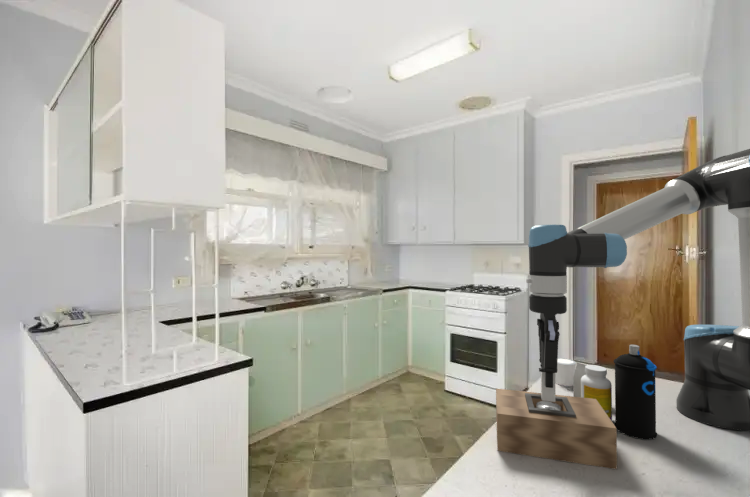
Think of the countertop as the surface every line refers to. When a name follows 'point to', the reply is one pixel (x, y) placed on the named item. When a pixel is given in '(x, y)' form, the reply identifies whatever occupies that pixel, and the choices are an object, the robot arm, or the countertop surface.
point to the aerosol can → (635, 395)
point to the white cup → (565, 372)
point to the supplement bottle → (597, 387)
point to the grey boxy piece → (578, 379)
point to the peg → (548, 405)
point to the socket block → (555, 429)
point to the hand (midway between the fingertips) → (548, 399)
